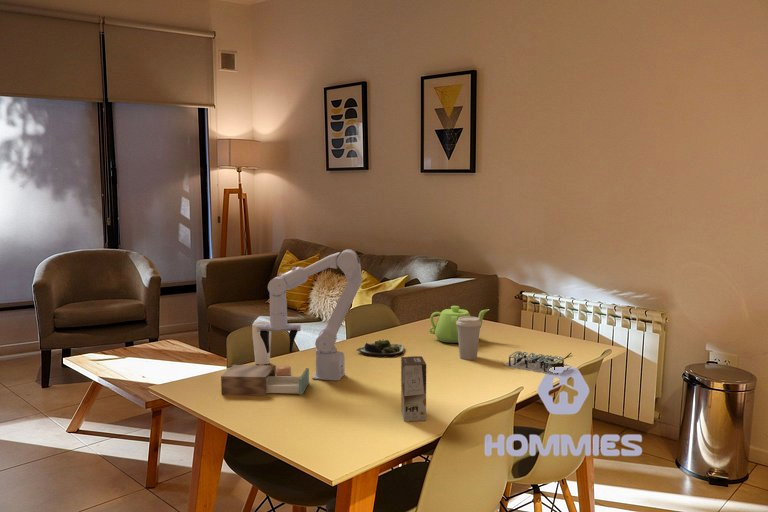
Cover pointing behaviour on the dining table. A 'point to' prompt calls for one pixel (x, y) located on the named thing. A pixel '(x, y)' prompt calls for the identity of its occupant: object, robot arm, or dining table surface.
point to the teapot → (450, 323)
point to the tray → (287, 383)
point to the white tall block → (260, 345)
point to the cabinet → (246, 379)
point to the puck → (283, 371)
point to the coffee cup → (468, 337)
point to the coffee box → (413, 388)
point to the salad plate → (381, 349)
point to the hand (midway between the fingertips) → (279, 352)
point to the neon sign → (535, 362)
